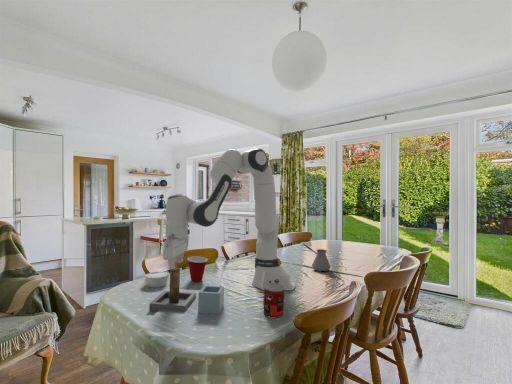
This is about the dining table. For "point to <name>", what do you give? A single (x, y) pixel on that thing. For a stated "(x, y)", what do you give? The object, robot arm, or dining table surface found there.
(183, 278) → the dining table surface
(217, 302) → the grey square bin
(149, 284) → the ramekin
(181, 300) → the tray
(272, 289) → the canned food
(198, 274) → the plastic cup
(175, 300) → the walnut dowel
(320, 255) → the coffee pot
